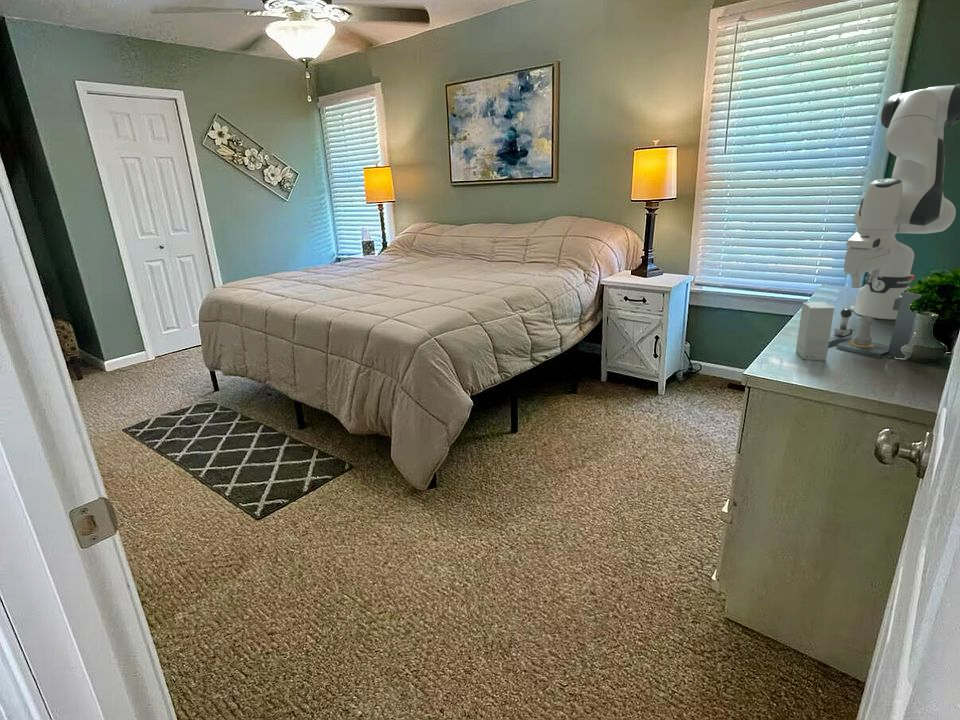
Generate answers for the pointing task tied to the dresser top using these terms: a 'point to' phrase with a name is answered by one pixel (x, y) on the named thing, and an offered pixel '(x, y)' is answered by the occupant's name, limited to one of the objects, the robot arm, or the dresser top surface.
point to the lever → (844, 323)
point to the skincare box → (814, 330)
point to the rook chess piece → (864, 331)
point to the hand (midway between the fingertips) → (864, 285)
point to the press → (900, 335)
